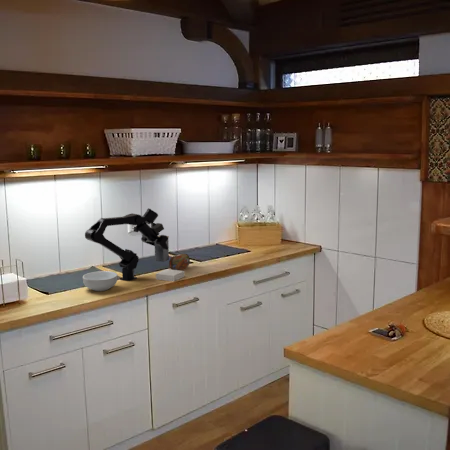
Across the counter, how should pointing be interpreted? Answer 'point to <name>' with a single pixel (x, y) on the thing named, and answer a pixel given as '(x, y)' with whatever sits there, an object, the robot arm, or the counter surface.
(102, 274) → the cereal bowl
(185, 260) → the mottled brown rounded slab
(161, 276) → the stand
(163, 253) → the block
